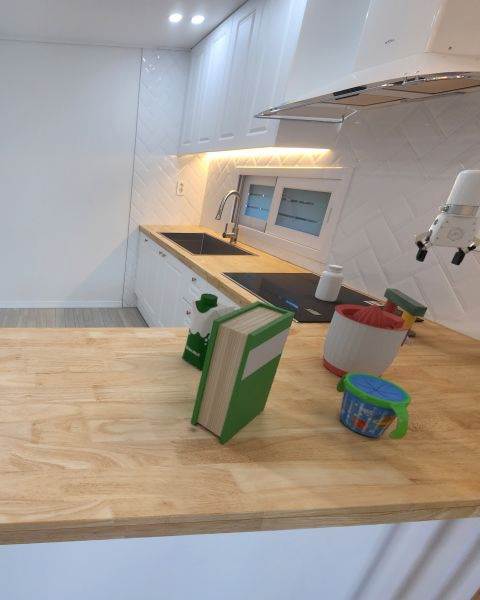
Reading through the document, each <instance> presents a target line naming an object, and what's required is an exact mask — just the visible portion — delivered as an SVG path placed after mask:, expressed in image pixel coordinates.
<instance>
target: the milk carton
mask: <svg viewBox="0 0 480 600" xmlns="http://www.w3.org/2000/svg"><path fill="white" fill-rule="evenodd" d="M235 307H236V305H234V304H232V303H229V302H227V301H225V300H223V299H220V298H219V297H218V296H217V295H216V294H212V293H205V292H204V293H202V294H201V295H200V297H198V298H194V299H191V317H190V322H189V328H188V333H187V338H186V341H185V342H186V343H185V345H184V349H183V352H182V353H183V354H182V360H184V361H186V362H187V363H189V364H190V365H191V366H192V367H194V368H195V369H197V370H198V371H200V372H202V370H203V366H204V361H205V357H206V352H207V348H208V343H209V339H210V334H211V330H212V325H213V321H214V320H215V319H217V318H219V317H222V316H224V315H226V314H229V313H231V312H233V311H235Z"/></svg>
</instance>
